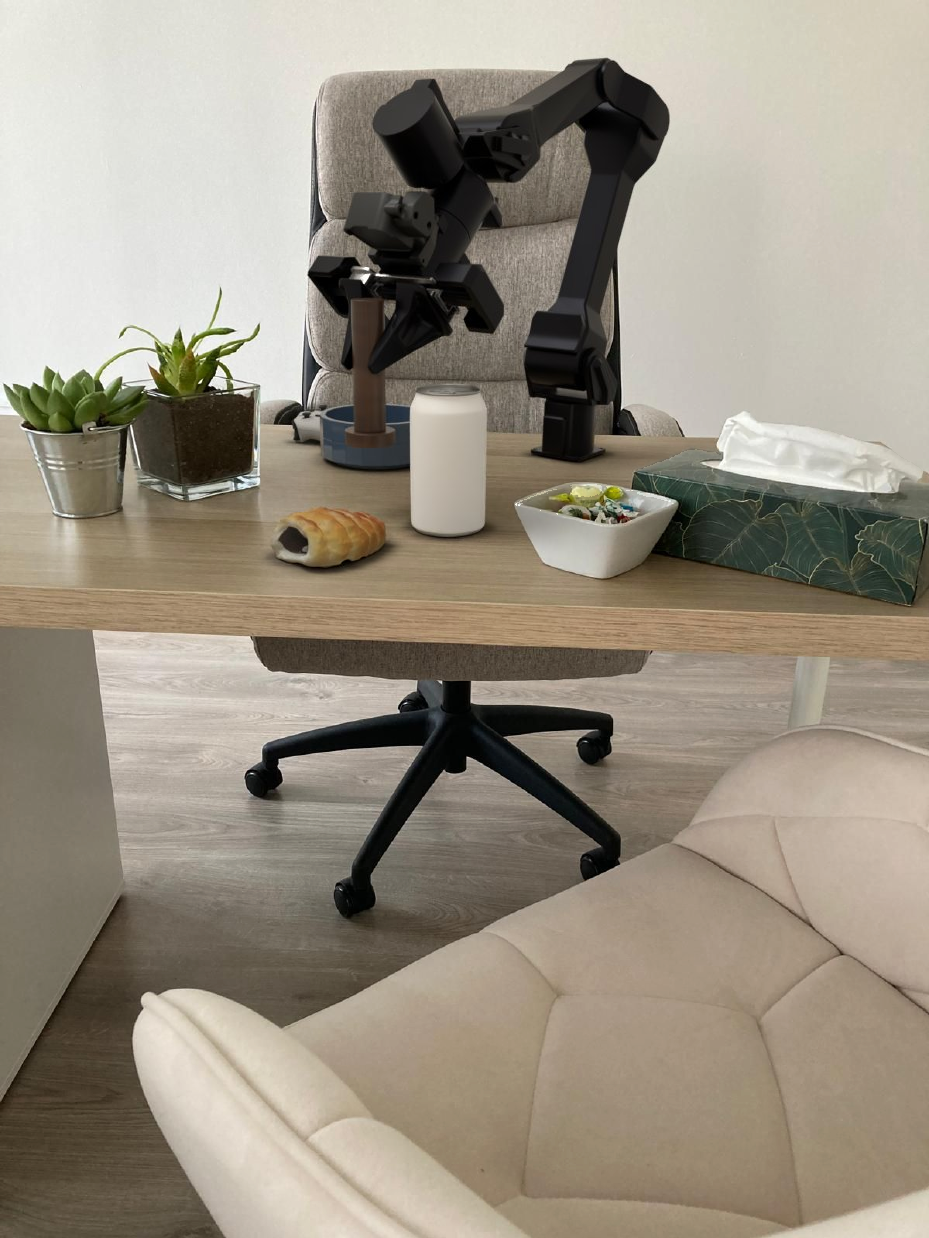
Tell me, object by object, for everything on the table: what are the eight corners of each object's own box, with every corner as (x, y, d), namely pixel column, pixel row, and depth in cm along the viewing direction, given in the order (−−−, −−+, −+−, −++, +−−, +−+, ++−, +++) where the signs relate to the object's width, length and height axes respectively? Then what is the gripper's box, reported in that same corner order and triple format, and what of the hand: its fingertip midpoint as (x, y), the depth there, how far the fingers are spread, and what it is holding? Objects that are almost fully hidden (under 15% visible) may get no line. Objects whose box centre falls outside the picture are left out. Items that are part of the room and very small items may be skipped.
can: (477, 540, 86) (479, 396, 82) (402, 535, 87) (400, 393, 83) (491, 519, 92) (493, 384, 87) (421, 515, 93) (420, 381, 89)
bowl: (371, 442, 121) (371, 399, 120) (454, 457, 115) (454, 412, 113) (298, 460, 112) (296, 414, 110) (383, 477, 106) (382, 429, 104)
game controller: (349, 439, 118) (311, 401, 117) (317, 470, 120) (279, 433, 118) (358, 422, 127) (323, 387, 126) (329, 452, 129) (293, 417, 127)
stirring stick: (368, 435, 94) (365, 296, 89) (405, 442, 91) (404, 299, 87) (334, 443, 90) (330, 299, 86) (372, 451, 88) (370, 302, 83)
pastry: (351, 531, 88) (350, 488, 86) (407, 549, 84) (407, 504, 82) (263, 556, 81) (261, 510, 80) (320, 577, 77) (318, 528, 76)
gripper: (318, 158, 90) (228, 295, 86) (487, 155, 80) (393, 311, 76) (380, 251, 99) (301, 380, 95) (540, 259, 88) (458, 405, 84)
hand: (357, 369), depth 87 cm, fingers closed on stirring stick, 3 cm apart
